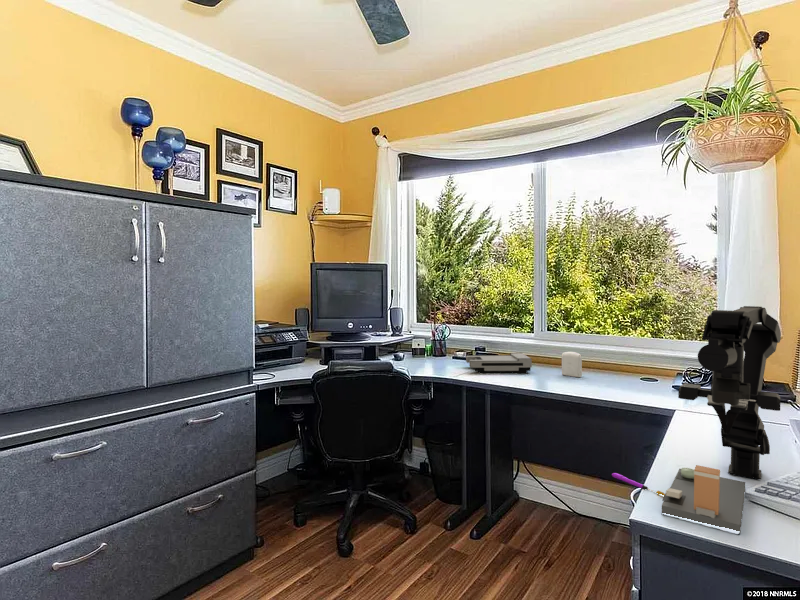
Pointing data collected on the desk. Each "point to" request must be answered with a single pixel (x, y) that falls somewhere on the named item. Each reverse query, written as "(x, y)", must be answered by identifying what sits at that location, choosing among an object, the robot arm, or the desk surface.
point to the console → (727, 513)
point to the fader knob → (707, 488)
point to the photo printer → (572, 364)
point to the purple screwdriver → (632, 482)
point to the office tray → (500, 363)
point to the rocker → (673, 493)
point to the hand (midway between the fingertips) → (726, 433)
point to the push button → (687, 473)
